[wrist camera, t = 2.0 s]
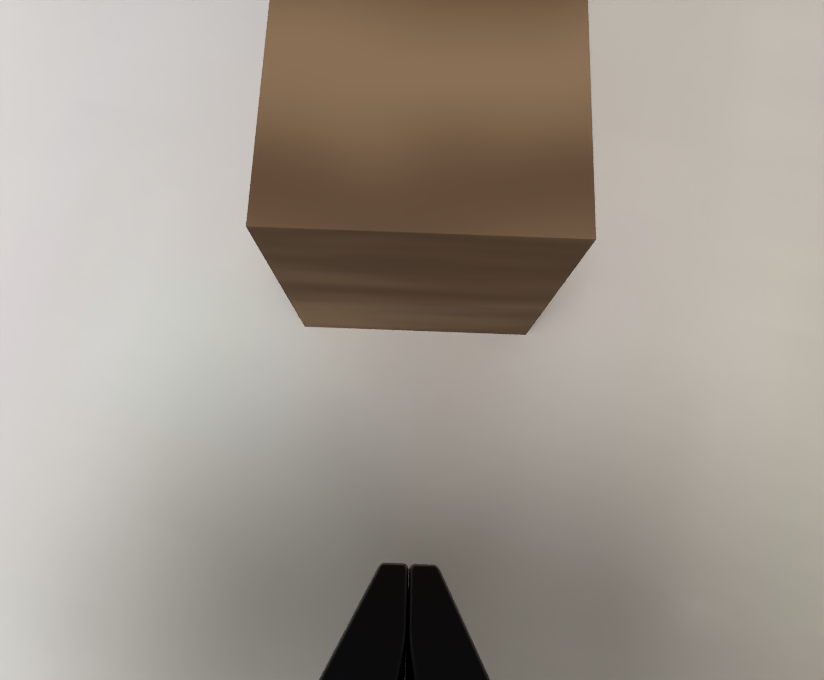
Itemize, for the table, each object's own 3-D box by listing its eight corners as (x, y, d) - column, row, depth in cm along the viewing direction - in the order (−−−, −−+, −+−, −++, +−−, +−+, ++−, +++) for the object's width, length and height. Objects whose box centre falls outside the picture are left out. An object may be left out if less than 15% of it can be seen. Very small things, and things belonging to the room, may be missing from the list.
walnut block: (524, 335, 23) (595, 239, 15) (305, 327, 23) (246, 226, 15) (522, 9, 27) (579, -228, 18) (330, 1, 27) (294, -239, 18)
